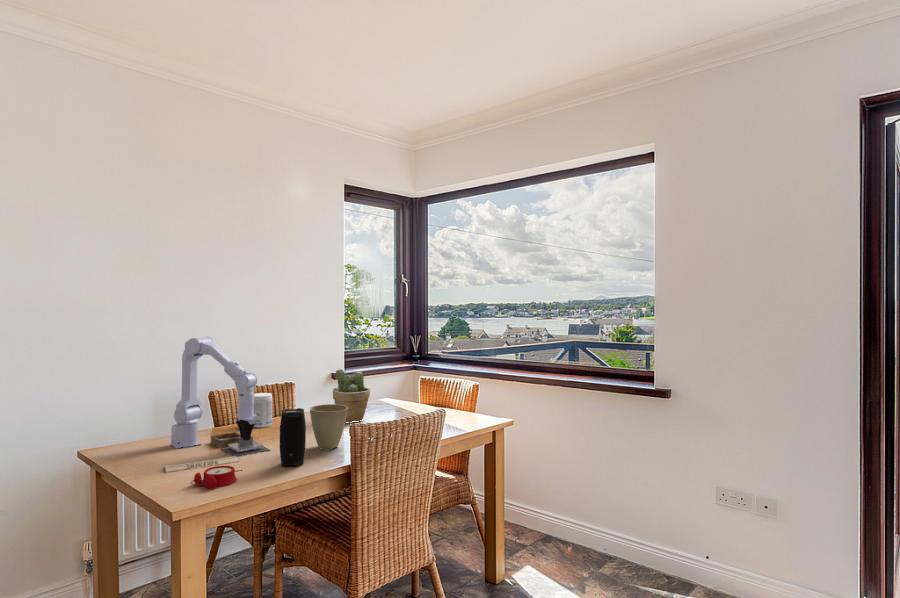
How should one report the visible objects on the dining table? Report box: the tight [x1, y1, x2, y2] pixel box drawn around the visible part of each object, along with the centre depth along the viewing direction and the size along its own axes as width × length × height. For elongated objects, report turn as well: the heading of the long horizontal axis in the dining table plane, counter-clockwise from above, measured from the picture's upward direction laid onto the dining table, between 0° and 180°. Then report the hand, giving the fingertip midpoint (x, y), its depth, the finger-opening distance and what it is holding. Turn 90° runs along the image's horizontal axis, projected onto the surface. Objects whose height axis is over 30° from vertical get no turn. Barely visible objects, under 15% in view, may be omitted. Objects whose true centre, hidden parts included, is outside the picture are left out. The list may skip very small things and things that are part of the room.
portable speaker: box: [279, 407, 307, 468], centre depth 194 cm, size 9×9×20 cm
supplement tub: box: [253, 392, 273, 429], centre depth 253 cm, size 10×10×15 cm
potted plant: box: [332, 368, 371, 422], centre depth 266 cm, size 18×19×25 cm
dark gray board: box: [220, 446, 271, 457], centre depth 212 cm, size 14×14×1 cm
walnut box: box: [210, 431, 241, 449], centre depth 221 cm, size 10×10×3 cm
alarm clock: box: [190, 465, 243, 490], centre depth 174 cm, size 10×6×15 cm
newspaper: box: [163, 456, 240, 473], centre depth 192 cm, size 24×7×2 cm, turn 124°
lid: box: [227, 435, 265, 452], centre depth 212 cm, size 10×10×5 cm
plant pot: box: [309, 403, 348, 450], centre depth 217 cm, size 15×15×16 cm
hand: (245, 439), depth 212 cm, fingers closed on lid
